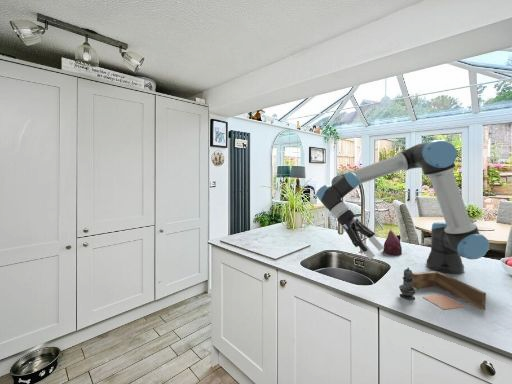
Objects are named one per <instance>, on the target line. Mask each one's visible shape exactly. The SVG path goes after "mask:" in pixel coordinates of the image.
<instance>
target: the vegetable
mask: <svg viewBox="0 0 512 384" xmlns="http://www.w3.org/2000/svg"><path fill="white" fill-rule="evenodd" d="M383 246H384V248H383V249H382V251H383V253H384V254H385V255H391V256H401V255H403V251H402V248H403V247H402V244H401V241H400V239H399V238H398V236H397V235H396V234H395V233H394V231H393V230H392V229H390V230H389V231H388V233H387V237H386V239H385V241H384V243H383Z"/></svg>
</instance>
